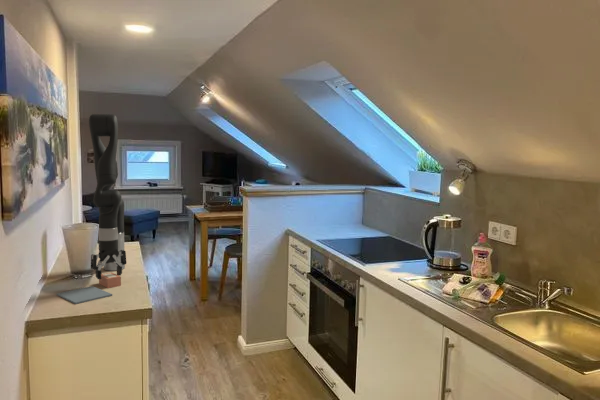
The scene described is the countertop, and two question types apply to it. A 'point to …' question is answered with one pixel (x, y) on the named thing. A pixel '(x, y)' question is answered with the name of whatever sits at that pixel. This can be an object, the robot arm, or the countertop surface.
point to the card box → (110, 280)
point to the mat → (84, 294)
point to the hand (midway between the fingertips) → (109, 277)
